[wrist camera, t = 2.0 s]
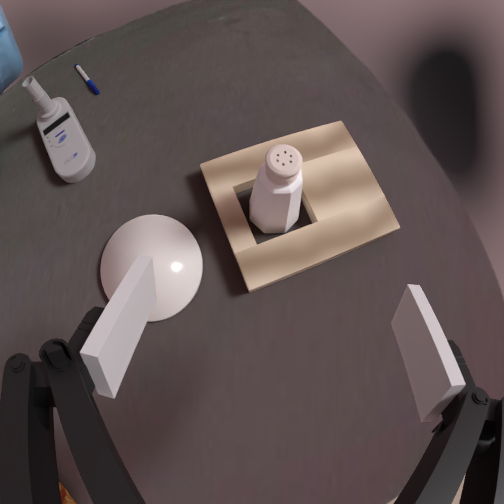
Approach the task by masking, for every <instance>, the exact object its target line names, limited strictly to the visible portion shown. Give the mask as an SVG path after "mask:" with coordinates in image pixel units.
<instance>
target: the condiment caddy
mask: <svg viewBox="0 0 504 504" xmlns="http://www.w3.org/2000/svg"><path fill="white" fill-rule="evenodd" d="M280 144H286V145H290V146H292V147H294V148H295V149H297V150H298V151H299V153H300V154H301V156H302V160H303V164H302V167H301V170H302V181H303V183H302V194H301V200H302V203H303V205H304V207H305V209H306V211H307V213H308V215H309V217H310V219H311V222H312V224H310V225H308V226H305V227H302V228H300V229H297V230H294V231H292V232H289V233H287V234H284V235H281V236H279V237H276V238H274V239H271V240H268V241H266V242H263V243H261V244H258V245H257V244H256V242H255V239H254V237H253V235H252V232H251V230H250V227H249V225H248V223H247V220H246V218H245V215H244V213H243V211H242V208H241V206H240V203H239V201H238V199H237V196H236V193H239V192H242V191H245V190H248V189H250V188H253V187H254V183H255V180H256V176H257V173H258V170H259V167H260V166H261V165H262V164H263V163H264V162H265V156H266V153H267V152H268V150H269V149H270V148H272V147H273V146H275V145H280ZM200 167H201V170H202V174H203V176H204V179H205V182H206V184H207V187H208V189H209V192H210V194H211V197H212V200H213V202H214V205H215V207H216V210H217V212H218V215H219V218H220V220H221V223H222V225H223V228H224V230H225V233H226V235H227V238H228V241H229V243H230V246H231V248H232V251H233V253H234V256H235V258H236V261H237V263H238V266H239V268H240V271H241V273H242V276H243V278H244V281H245V283H246V286H247V288H248V291H249V293H250V292H253V291H255V290H258V289H260V288H263V287H265V286H268V285H270V284H273V283H275V282H278V281H280V280H283V279H285V278H288V277H290V276H293V275H295V274H298V273H300V272H302V271H305V270H307V269H310V268H312V267H314V266H317V265H319V264H322V263H324V262H326V261H329V260H331V259H334V258H336V257H338V256H341V255H343V254H345V253H348V252H350V251H352V250H355V249H357V248H359V247H362V246H364V245H366V244H369V243H371V242H373V241H376V240H378V239H380V238H382V237H385V236H387V235H389V234H391V233H393V232H395V231H396V230H398V229H399V228H400V226H399V224H398V222H397V220H396V218H395V216H394V214H393V212H392V210H391V208H390V206H389V204H388V202H387V200H386V198H385V196H384V194H383V192H382V190H381V188H380V186H379V185H378V183H377V181H376V179H375V177H374V175H373V174H372V172H371V170H370V168H369V166H368V165H367V163H366V161H365V159H364V158H363V156H362V154H361V152H360V151H359V149H358V147H357V146H356V144H355V142H354V141H353V139H352V137H351V136H350V134H349V132H348V131H347V129H346V128H345V126H344V124H343V123H342V121H338V122H334V123H330V124H327V125H323V126H319V127H315V128H312V129H308V130H305V131H301V132H298V133H294V134H291V135H287V136H284V137H281V138H277V139H274V140H271V141H267V142H264V143H261V144H258V145H255V146H252V147H249V148H246V149H243V150H240V151H237V152H234V153H231V154H228V155H225V156H222V157H219V158H216V159H214V160H211V161H208V162H205V163H202V164H200Z"/></svg>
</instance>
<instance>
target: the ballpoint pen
mask: <svg viewBox="0 0 504 504" xmlns="http://www.w3.org/2000/svg"><path fill="white" fill-rule="evenodd" d="M75 67H76V69H77V70H78V71H79V73H80V74H81V75H82V77H83V78H84V79H85V81H86V82H87V84H88V85H89V87H90V88H91V89H92V91H93V92H94V93H95V94H96V95H98V94H99V90H98V89H97V88H96V86H95V85H94V84H93V82H92V81H91V80H90V79H89V78H88V77H87V75H86V74H85V73H84V71H83V70H82V69H81V67H80V66H79V65H78V64H75Z"/></svg>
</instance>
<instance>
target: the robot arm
mask: <svg viewBox="0 0 504 504" xmlns="http://www.w3.org/2000/svg"><path fill="white" fill-rule="evenodd" d="M22 69H23V61H22V58H21V55H20V52H19V49H18V46H17V44H16V41H15V39H14V36H13V34H12V31H11V28H10V26H9V24H8V21H7V19H6V16H5V14H4V11H3V9H2V7H1V5H0V95H1V94H2V93H3V91H4V90H5V89H6V88H7V87H8V86H9V85H10V84H11V83H13V82H14V81H15V80H16V79H17V78H18V77H19V75H20V74H21V72H22ZM156 301H157V295H156V286H155V277H154V268H153V257H149V256H141V255H138V257H137V258H136V260H135V261H134V263H133V264H132V266H131V267H130V269H129V271H128V272H127V274H126V275H125V277H124V278H123V280H122V282H121V283H120V285H119V286H118V288H117V290H116V291H115V293H114V294H113V296H112V298H111V299H110V301H109V303H108V304H107V306H106V308H101V307H96V306H95V307H94V308H93V309H91V310H90V311H89V312H87V313H86V315H85V317H84V318H83V320H82V323H80V325H79V326H78V329H76V331H75V333H74V334H73V336H72V338H71V339H70V341H69V343H67V342H66V341H64V340H63V339H51V340H49V341H47V342H46V343H44V344H43V345H42V347H41V349H40V351H39V357H40V359H41V360H42V362H31V360H30V358H29V357H28V356H27V355H25V354H21V353H18V354H15V355H13V356H11V357H10V358H9V359H8V360H7V362H6V364H5V368H4V375H3V383H2V392H1V401H0V504H62V500H61V493H60V487H59V479H58V472H57V463H56V452H55V440H54V422H53V407H57V411H58V414H59V417H60V421H61V424H62V427H63V430H64V433H65V436H66V438H67V441H68V444H69V447H70V450H71V452H72V455H73V457H74V460H75V463H76V465H77V467H78V470H79V472H80V475H81V477H82V479H83V482H84V484H85V486H86V488H87V491H88V493H89V495H90V497H91V499H92V501H93V503H94V504H146V503H145V501H144V500H143V498H142V496H141V495H140V493H139V491H138V489H137V488H136V486H135V484H134V482H133V481H132V479H131V477H130V475H129V473H128V471H127V469H126V468H125V466H124V464H123V462H122V460H121V458H120V456H119V454H118V452H117V450H116V448H115V446H114V444H113V442H112V439H111V437H110V435H109V433H108V431H107V429H106V426H105V424H104V422H103V420H102V417H101V415H100V412H99V410H98V408H97V405H96V403H95V400H94V398H93V396H92V392H93V390H94V388H96V390H97V392H98V394H100V395H103V396H107V397H110V398H114V399H115V396H116V394H117V391H118V389H119V386H120V384H121V381H122V379H123V376H124V374H125V371H126V369H127V367H128V364H129V362H130V360H131V357H132V355H133V352H134V350H135V348H136V345H137V343H138V341H139V339H140V336H141V334H142V332H143V329H144V327H145V325H146V323H147V320H148V318H149V316H150V314H151V312H152V309H153V307H154V305H155V303H156ZM391 325H392V328H393V331H394V334H395V337H396V340H397V343H398V346H399V349H400V352H401V355H402V358H403V361H404V364H405V367H406V371H407V374H408V377H409V381H410V384H411V388H412V391H413V394H414V398H415V402H416V405H417V409H418V413H419V417H420V420H421V422H428V421H435V420H436V419H437V417H438V416H439V415H440V414H442V418H443V420H442V421H441V422H440V423H439V424H438V425H437V426H436V427H435V428H434V429H433V431H432V433H434V432H435V431H436V432H435V434H434V436H433V438H432V440H431V442H430V444H429V446H428V447H427V449H426V451H425V453H424V455H423V457H422V459H421V460H420V462H419V464H418V466H417V467H416V469H415V471H414V472H413V474H412V476H411V477H410V479H409V481H408V482H407V484H406V486H405V487H404V489H403V490H402V492H401V493H400V495H399V496H398V498H397V499H396V501H395V503H394V504H451V503H452V501H453V499H454V497H455V495H456V493H457V491H458V489H459V487H460V484H461V482H462V480H463V477H464V475H465V473H466V476H465V480H464V485H463V490H462V494H461V499H460V503H459V504H504V397H503V398H502V399H501V400H496V399H491V398H489V396H488V394H487V393H486V392H485V391H484V390H483V389H481V388H479V387H476V386H475V383H474V381H473V379H472V376H471V374H470V372H469V369H468V367H467V365H466V364H465V360H464V358H463V357H462V354H461V351H460V349H459V347H458V346H457V345H456V344H455V343H454V342H453V341H452V340H447V339H446V337H445V335H444V333H443V331H442V329H441V327H440V324H439V322H438V320H437V318H436V316H435V314H434V312H433V310H432V308H431V306H430V304H429V302H428V300H427V298H426V296H425V295H424V293H423V291H422V289H421V287H420V285H410V284H408V285H407V287H406V289H405V292H404V294H403V297H402V299H401V301H400V304H399V306H398V308H397V310H396V313H395V315H394V317H393V319H392V321H391Z"/></svg>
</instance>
